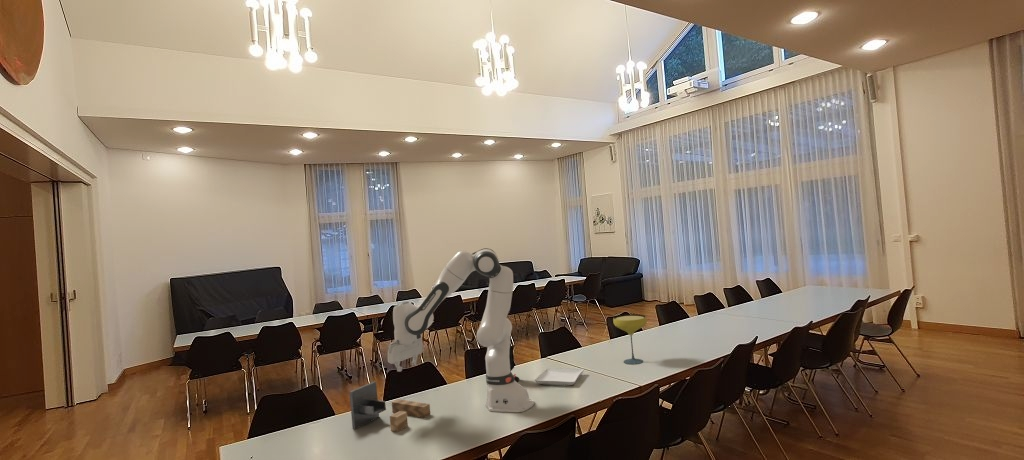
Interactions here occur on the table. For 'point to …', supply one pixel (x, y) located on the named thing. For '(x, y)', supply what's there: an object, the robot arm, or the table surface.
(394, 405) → the walnut rail
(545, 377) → the salad plate
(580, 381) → the table surface
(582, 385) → the table surface
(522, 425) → the table surface
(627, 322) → the cocktail glass
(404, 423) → the oak post
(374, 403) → the bracket
